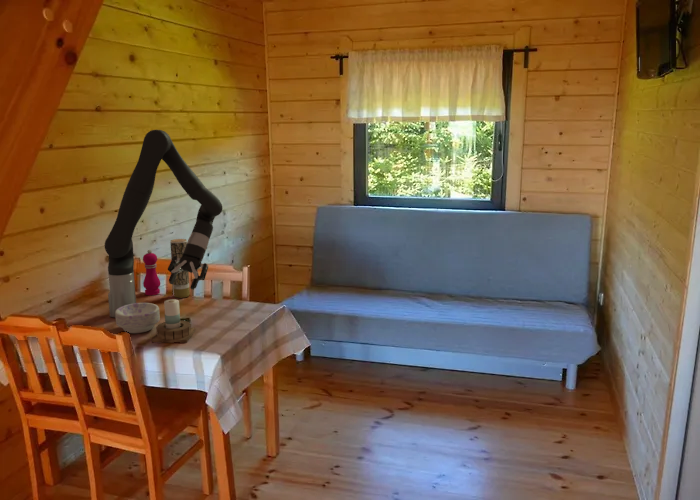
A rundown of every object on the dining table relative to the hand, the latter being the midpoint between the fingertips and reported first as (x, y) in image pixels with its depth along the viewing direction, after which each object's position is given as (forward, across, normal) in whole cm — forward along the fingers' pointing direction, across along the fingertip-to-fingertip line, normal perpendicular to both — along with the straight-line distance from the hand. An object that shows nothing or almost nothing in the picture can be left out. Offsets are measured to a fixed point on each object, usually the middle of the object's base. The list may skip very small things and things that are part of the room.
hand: (181, 286), depth 215 cm
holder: (+18, +5, -1) cm, 19 cm away
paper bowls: (+19, -11, +4) cm, 22 cm away
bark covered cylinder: (-4, -16, +38) cm, 41 cm away
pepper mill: (-2, -30, +40) cm, 50 cm away
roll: (+18, +4, -2) cm, 18 cm away
